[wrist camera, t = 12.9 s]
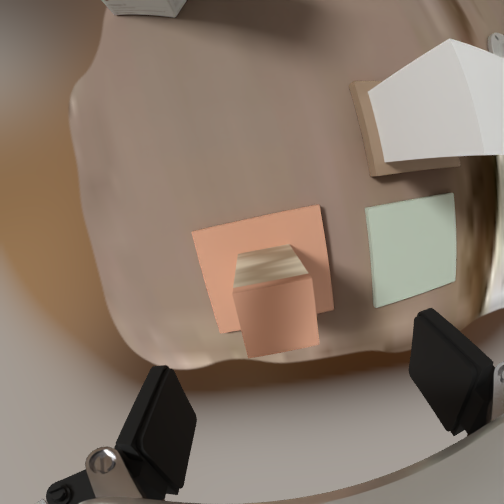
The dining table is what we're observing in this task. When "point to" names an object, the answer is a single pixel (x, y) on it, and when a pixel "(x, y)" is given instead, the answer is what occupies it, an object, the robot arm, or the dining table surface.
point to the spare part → (274, 301)
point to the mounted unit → (433, 110)
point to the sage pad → (411, 247)
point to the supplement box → (145, 7)
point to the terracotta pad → (255, 238)
